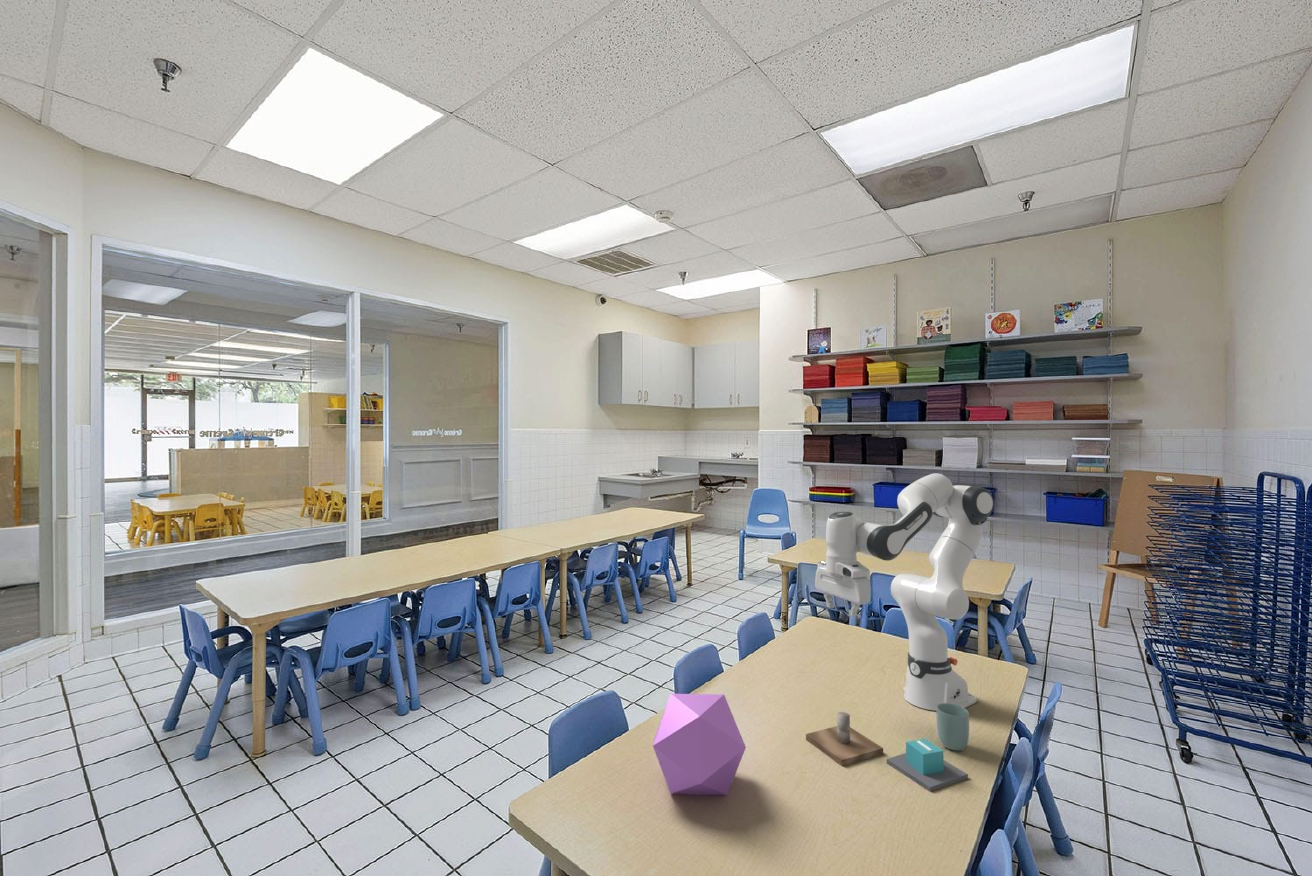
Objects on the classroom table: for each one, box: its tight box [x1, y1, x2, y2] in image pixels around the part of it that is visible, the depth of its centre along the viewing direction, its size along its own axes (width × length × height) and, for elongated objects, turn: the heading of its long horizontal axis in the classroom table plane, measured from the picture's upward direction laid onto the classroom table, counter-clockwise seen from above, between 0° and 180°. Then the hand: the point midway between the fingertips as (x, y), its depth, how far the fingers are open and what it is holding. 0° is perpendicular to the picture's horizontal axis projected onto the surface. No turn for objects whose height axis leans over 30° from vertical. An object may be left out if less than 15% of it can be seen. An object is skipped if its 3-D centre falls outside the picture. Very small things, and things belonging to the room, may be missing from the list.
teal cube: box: [905, 738, 944, 775], centre depth 139 cm, size 6×6×5 cm
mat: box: [886, 752, 969, 792], centre depth 139 cm, size 13×13×1 cm
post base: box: [805, 711, 884, 767], centre depth 150 cm, size 14×14×8 cm
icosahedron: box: [652, 693, 747, 796], centre depth 133 cm, size 22×21×25 cm
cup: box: [936, 703, 970, 752], centre depth 150 cm, size 8×8×10 cm
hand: (841, 611), depth 168 cm, fingers open, 8 cm apart
